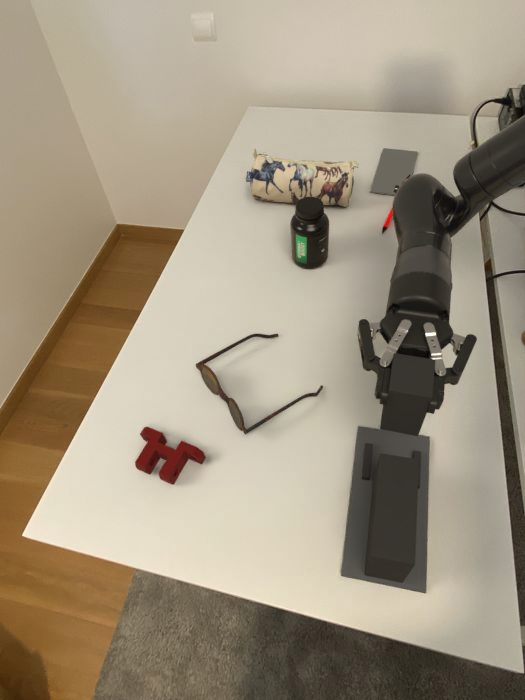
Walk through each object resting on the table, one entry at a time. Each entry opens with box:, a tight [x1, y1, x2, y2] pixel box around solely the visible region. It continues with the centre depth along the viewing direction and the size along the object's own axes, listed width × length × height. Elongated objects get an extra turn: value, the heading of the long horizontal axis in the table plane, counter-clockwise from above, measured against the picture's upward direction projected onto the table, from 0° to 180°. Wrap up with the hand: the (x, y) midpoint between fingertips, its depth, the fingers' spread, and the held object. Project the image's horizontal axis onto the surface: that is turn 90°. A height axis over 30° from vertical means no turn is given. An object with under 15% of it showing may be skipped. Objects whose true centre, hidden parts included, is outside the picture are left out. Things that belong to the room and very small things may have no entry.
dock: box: [340, 425, 431, 594], centre depth 62 cm, size 10×20×10 cm, turn 168°
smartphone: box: [369, 147, 419, 197], centre depth 107 cm, size 8×1×16 cm
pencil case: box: [245, 148, 359, 208], centre depth 101 cm, size 22×8×10 cm, turn 77°
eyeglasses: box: [195, 333, 324, 436], centre depth 76 cm, size 15×15×5 cm
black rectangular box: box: [379, 353, 435, 436], centre depth 58 cm, size 4×5×9 cm
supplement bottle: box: [289, 196, 330, 270], centre depth 89 cm, size 7×7×12 cm
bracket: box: [134, 426, 207, 486], centre depth 71 cm, size 3×6×10 cm
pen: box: [381, 175, 411, 235], centre depth 100 cm, size 1×19×1 cm, turn 154°
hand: (407, 404), depth 54 cm, fingers closed on black rectangular box, 4 cm apart
